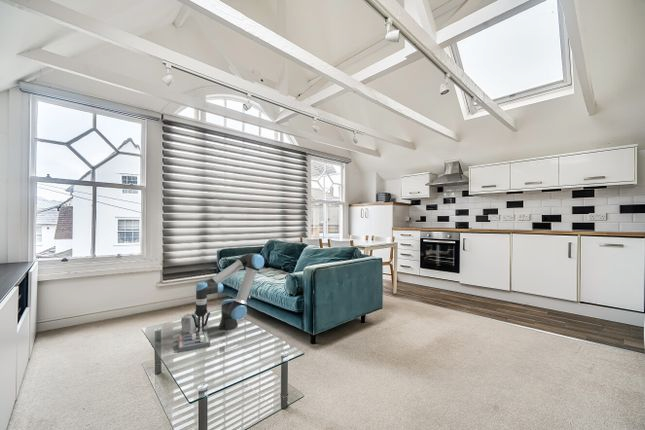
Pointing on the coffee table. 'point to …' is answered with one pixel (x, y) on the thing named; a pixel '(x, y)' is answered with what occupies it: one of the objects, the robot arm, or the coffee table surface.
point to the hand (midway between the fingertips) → (200, 336)
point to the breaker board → (192, 342)
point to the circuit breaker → (188, 324)
